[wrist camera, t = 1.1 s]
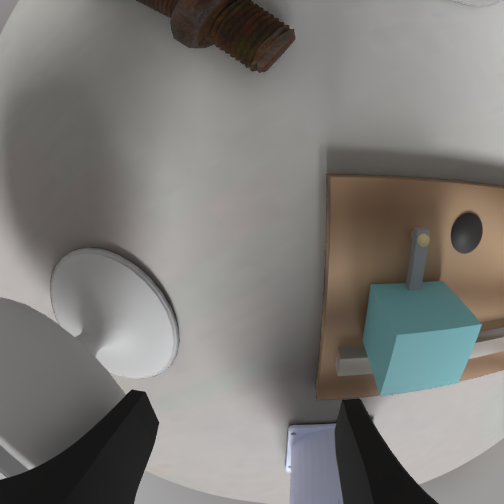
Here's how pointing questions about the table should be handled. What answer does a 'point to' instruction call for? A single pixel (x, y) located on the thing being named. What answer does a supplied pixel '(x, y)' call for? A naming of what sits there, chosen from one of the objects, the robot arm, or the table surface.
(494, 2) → the cylinder vase
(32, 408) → the chalice
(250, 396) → the table surface
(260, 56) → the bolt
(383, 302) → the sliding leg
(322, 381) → the board
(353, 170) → the table surface
